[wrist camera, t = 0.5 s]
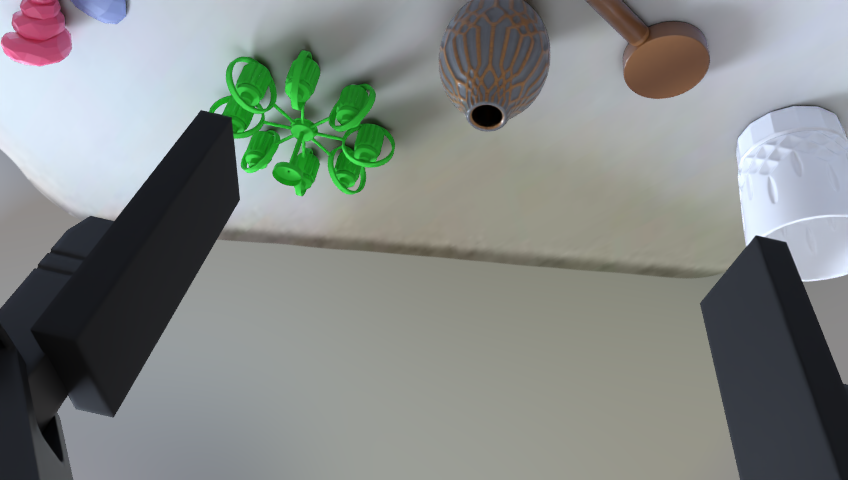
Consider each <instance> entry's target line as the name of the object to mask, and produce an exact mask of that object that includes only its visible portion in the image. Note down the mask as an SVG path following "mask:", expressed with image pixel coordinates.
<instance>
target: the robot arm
mask: <svg viewBox="0 0 848 480" xmlns="http://www.w3.org/2000/svg"><path fill="white" fill-rule="evenodd" d="M239 200H240V196H239V186H238V176H237V166H236V156H235V145H234V135H233V125H232V117H229V116H224V115H220V114H216V113H211V112H207V111H202V110H201V111H200V112H199V114H198V115H197V116H196V117H195V119H194V120H193V121H192V122H191V124H190V125H189V126H188V128H187V129H186V130H185V131H184V133H183V134H182V135H181V137H180V138H179V139H178V140H177V142H176V143H175V144H174V146H173V147H172V148H171V149H170V151H169V152H168V153H167V155H166V156H165V157H164V158H163V160H162V161H161V162H160V163H159V165H158V166H157V167H156V169H155V170H154V171H153V172H152V174H151V175H150V176H149V178H148V179H147V180H146V181H145V183H144V184H143V185H142V187H141V188H140V189H139V190H138V192H137V193H136V194H135V196H134V197H133V198H132V199H131V201H130V202H129V203H128V204H127V206H126V207H125V208H124V210H123V211H122V212H121V213H120V215H119V216H118V217H117V219H116V220H115V221H111V220H106V219H102V218H98V217H93V216H90V217H88V218H86V219H85V220H83V221H81V222H80V223H78V224H77V225H75V226H73V227H72V228H70V229H68V230H67V231H66V232H65V233H64V235H63V236H62V237H61V238H60V239H59V240H58V242H57V243H56V244H55V245H54V246H53V247H52V249H51V252H50V253H47V255H46V256H45V257H44V258H43V259H42V260H41V262H40V263H39V264H38V268H37V269H34V270H33V271H32V272H31V273H30V275H29V276H28V277H27V278H26V279H25V280H24V282H23V283H22V284H21V285H20V286H19V287H18V289H17V290H16V291H15V292H14V293H13V294H12V296H11V297H10V298H9V299H8V300H7V302H6V303H5V304H4V305H3V306H2V307H1V309H0V480H73V477H72V472H71V467H70V463H69V458H68V453H67V449H66V444H65V439H64V435H63V430H62V425H61V420H60V417H59V415H58V413H57V411H58V409H59V408H60V406H61V405H62V403H63V401H64V400H65V398H66V397H67V396H69V398H70V400H71V401H72V403H73V405H74V406H75V408H76V409H78V410H83V411H87V412H92V413H96V414H100V415H105V416H110V417H114V416H115V414H116V412H117V411H118V409H119V407H120V406H121V404H122V402H123V400H124V399H125V397H126V395H127V393H128V392H129V390H130V388H131V387H132V385H133V383H134V381H135V380H136V378H137V376H138V374H139V373H140V371H141V369H142V367H143V366H144V364H145V362H146V361H147V359H148V357H149V356H150V354H151V352H152V350H153V348H154V347H155V345H156V343H157V342H158V340H159V338H160V337H161V335H162V333H163V331H164V330H165V328H166V326H167V324H168V323H169V321H170V319H171V318H172V316H173V314H174V312H175V311H176V309H177V307H178V306H179V304H180V302H181V300H182V298H183V297H184V295H185V293H186V292H187V290H188V288H189V286H190V285H191V283H192V281H193V280H194V278H195V276H196V274H197V273H198V271H199V269H200V268H201V266H202V264H203V262H204V261H205V259H206V257H207V255H208V254H209V252H210V250H211V249H212V247H213V245H214V243H215V242H216V240H217V238H218V237H219V235H220V233H221V231H222V230H223V228H224V226H225V224H226V223H227V221H228V219H229V218H230V216H231V214H232V212H233V211H234V209H235V207H236V205H237V204H238V202H239ZM700 305H701V309H702V314H703V318H704V323H705V327H706V331H707V336H708V340H709V345H710V348H711V353H712V358H713V362H714V366H715V371H716V375H717V380H718V384H719V388H720V393H721V397H722V402H723V406H724V410H725V415H726V419H727V424H728V427H729V432H730V437H731V441H732V445H733V449H734V454H735V459H736V463H737V467H738V472H739V476H740V480H848V385H846V384H843V383H842V380H841V378H840V375H839V372H838V370H837V368H836V365H835V362H834V360H833V358H832V355H831V352H830V350H829V347H828V345H827V343H826V340H825V338H824V335H823V332H822V330H821V327H820V325H819V322H818V320H817V317H816V315H815V312H814V310H813V307H812V305H811V302H810V300H809V297H808V295H807V292H806V290H805V287H804V285H803V282H802V280H801V277H800V275H799V272H798V270H797V267H796V265H795V262H794V260H793V257H792V255H791V252H790V250H789V247H788V245H787V242H784V241H780V240H775V239H771V238H766V237H762V236H757V235H756V236H755V237H754V238H753V239H752V241H751V242H750V243H749V244H748V245H747V247H746V248H745V249H744V250H743V251H742V253H741V254H740V255H739V256H738V258H737V259H736V260H735V261H734V262H733V264H732V265H731V266H730V267H729V269H728V270H727V271H726V272H725V274H724V275H723V276H722V277H721V278H720V280H719V281H718V282H717V283H716V284H715V286H714V287H713V288H712V289H711V291H710V292H709V293H708V294H707V296H706V297H705V298H704V299H703V300H702V302H701V303H700Z"/></svg>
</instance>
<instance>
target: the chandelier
mask: <svg viewBox="0 0 848 480" xmlns="http://www.w3.org/2000/svg"><path fill="white" fill-rule="evenodd" d="M236 62H247V63H248V64H247V65H245V66H244V68H243V70H242V72H241V74H240V76H239V78H238V80H237V84H236V88H235V86H234V83H233V79H232V70H233V67H234V65H235V63H236ZM259 75H260V76H259ZM319 76H320V68H319V66H318V64H317V63H316V62H315V61H313V60H312V55H311V52H309V51H304V50H302V51H301V52H300V54H299V56H298V58H297V59H296V60H295V61H293V62H292V65H291V67H290V70H289V72H288V75H287V77H286V82H285V84H286V86H285V92H286V94H287V95H288V96H289V98H290V99H291V106H292V108H293V109H295V110H301V118H296V119H294V120H293V119H292V118H291V117H289V116H288V115H287V114H286V113H285V112H284V111H283V110H282V109H280V108H279V107H278V106H277V105H276V104H275V102H276V98H277V92H276V87H275V84H274V81H273V79H272V77H271V74H270V72H269V70H268V69H267V68H266V67H265V66H264V65H262V64H260V63H259V62H258V61H256V60H254V59H252V58H249V57H239V58H237V59H235V60H234V61H232V62H231V63H230V64H229V66H228V68H227V71H226V82H227V86H228V88H229V91H230V93H231V96H227V97H224V98H221V99H219V100H218V101H216V102H215V103H214V104H213V105H212V107H211V108H210V111H209V112H211V113H214V111H215V110H216V109H217V108H218V107H219V106H221V105H222V104H225V103H227V102H228V103H227V105H226V107H225V110H224V112H223V114H222V115H224V116H229V117H232V125H233V135H234V138H245V137H249V136H251V135H253V134H254V135H253V136H252V138H251V140H250V143H249V145H248V148H247V150H246V152H245V154H244V156H243V158H242V161H241V167H242V169H243V170H245V171H246V172H247V173H253V172H256V171H258V170H259V169H264V168H266V167H267V164H268V163H269V162H270V161H271V160H272V157H273V155H274V154H275V152H276V150H277V148H278V146H279V144H280V143H282V142H285V141H287V140H289V139H291V138H293V137H295V138H297V139H298V140H297V143H296V145H295V148H294V151H293V154H292V157H291V159H290V162H289V163H288V162H280V163H277V164H276V165H275V167H274V169H273V176H274V178H275V179H276V180H277V181H279V182H280V183H282V184H285V185H289V186H294V188H295V191H296V195H299V196H303V195H304V194H305V192H306V190H307V189H308V188H310V187H311V185H312V183H313V182H314V181H315V178H316V175H317V172H318V169H319V165H320V163H319V160H318V158H317V157H316V156H315V155H313V150H312V149H309V148H305V141H311V140H312V141H313V142H314V143H315V144H316V145H318V146H319V147H320V148H321V149H322V150H323V151H324V152H325V153H327V154H328V155H329V157H328V170H329V173H330V176H331V178H332V180H333V182H334V184H335V185H336V186H337V187H338V189H340V190H341V191H342V192H344V193H346V194H355V193H358V192H360V191H361V190H362V189H363V188H364V186H365V182H366V172H365V168H364V167H378V166H381V165H384V164H385V163H387V162H388V161H389V160H390V159H391V158H392V156H393V154H394V149H395V142H394V139H393V137H392V135H391V134H390V133H389V132H388V131H387V130H386V129H384V128H382V127H380V126H378V125H375V124H360V122H361V121H362V120H363V119H364V117H365V116H366V115H367V114H368V112H369V111H370V109H371V108H372V106H373V104H374V101H375V97H376V93H375V90H374V89H373V88H372V87H371V86H370V85H369V84H360V85H348V86H346V87H345V88H344V89H343V90H342V92H341V95H340V98H339V100H338V102H337V103H336V104H335V106H334V107H333V109H332V111H331V113H330V116H329V117H327V118H325V119H323V120H321V121H319V122H317V123H315V124H314V123H313V122H311V121H310V120H307V119H304V105H305V102H306V101H307V100H308V99H309V98H310V96H311V95H312V94H313V93H314V90H315V88H316V85H317V82H318V79H319ZM268 86H269V88H270V92H271V100H270V104H269V106H268V107H267V108H266V109H263V108H262V106H261V105H260V104H259V102H260V100H262V99H263V98H264V95H265V93H266V90H267V88H268ZM366 90H370V94H369V96H368V93H367V92H366ZM357 96H358V97H357ZM255 106H256V107H257V108H258V109H257V108H255ZM273 106H274V107H275V108H276V109H277V110H278V111H279V112H280V113H281V114H283V115H284V116H285V117H286V118H287V119H288V120H289V121H290V122H291V124H290V125H291V126H286V125H281V124H277V123H272V122H268V121H264V120H265V116H264V113H265V112H266V111H268V110H270V109H271V108H272V107H273ZM254 113H256V114H262V117H261V120H260V122H259V123H258V125H257V126H255V127H254V128H253V129H251V130H248V131H245V132H244V130H246V129H247V127H248V126H249V124H250V122H251V120H252V117H253V115H254ZM336 118H337V120H338V122H339V123H340V124H341V125H340V126H335V119H336ZM328 120H329V124H330V126H331V127H332V128H333V129H334V130H336V131H338V132H343V131H346V130H347V131H346V133H345V134H344V136H343V138H341V137H336V136H332V135H327V134H323V133H318V129H317V127H316V126H318V125H320V124H322V123H324V122H326V121H328ZM263 124H267V125H272V126H276V127H281V128H285V129H290V130H291V133H292V135H290V136H288V137H286V138H284V139H282V140H280V136H279V134H278V133H276V132H275V131H274V130H269V131H266V132H265V131H259V130H260V129H261V128H262V126H263ZM357 130H359V131H358V134H357V138H356V141H355V148H354V150H355V151H354V150H353V149H351V148H350V147H347V146H345V141H346V139H347V137H348V136H349V135H350V134H351V133H353V132H355V131H357ZM273 135H274V136H275V137H274V136H273ZM316 135H318V136H322V137H327V138H331V139H336V140H341V141H342V146H339V147H337V148H335V149H333V150H332V151H331V152H329V151H328V150H326V149H325V148H324V147H323V146H322V145H321V144H320V143H319V142H318V141H316V140H315V139H314V137H315V136H316ZM384 135H385V136H386V137H387V138H388V139H389V141H390V142H391V145H392V151H391V153H390V154H389V155H388V156H387V157H386V158H384V159H382V160H380V161H376V160H377V157H378V156H379V155H380V152H381V148H382V144H383V140H384ZM301 143H302V153H300V154H299V155H298V156H297V154H298V151H299V149H300V146H301ZM339 149H341V150H343V151H342V152H341V153H340V155H339V156H338V158H337V162H336V165H335V168H334V165H333V159H334V155H335V153H336V151H337V150H339ZM375 161H376V162H375ZM247 163H248V164H249V167H250V168H247ZM359 174H360V175H361V181H360V185H359V187H358V189H357V190H356V191H351V190H349V189H347V188H348V187H352V186H354V184H355V182H356V180H357V179H358V178H359Z"/></svg>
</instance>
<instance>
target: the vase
mask: <svg viewBox="0 0 848 480" xmlns="http://www.w3.org/2000/svg"><path fill="white" fill-rule="evenodd" d="M549 65H550V43H549V37H548V34H547V30H546V28H545V25H544V23H543V21H542V20H541V18H540V16H539V15H538V13H537V12H536V11H535V10H534V9H533V8H532V7H531V6H530V5H529V4H528V3H526V2H525V1H523V0H472V1H470V2H469V3H467V4H466V5H465V6H463V7H462V8H461V9H460V10H459V11H458V12H457V13H456V15H455V16H454V17H453V18H452V20H451V21H450V23H449V25H448V26H447V28H446V31H445V33H444V36H443V39H442V43H441V47H440V53H439V71H440V77H441V81H442V84H443V87H444V90H445V92H446V94H447V96H448V97H449V99H450V100H451V102H452V103H453V104H454V105H455V106H456V107H457V108H458V109H459V110H460V111H461V112H462V113H463V114H465V116H466V118H467V120H468V122H469V123H470V124H471V125H472V126H473V127H474V128H476V129H478V130H481V131H495V130H498V129H500V128H501V127H503V126H504V125H505V124H506V123H507V121H508V120H509V119H511V118H513V117H514V116H516V115H518V114H520V113H521V112H523V111H524V110H525V109H526V108H528V107H529V106H530V105H531V104H532V103H533V101H534V100H535V99H536V97H537V96H538V94H539V93H540V91H541V89H542V87H543V85H544V83H545V80H546V78H547V74H548V70H549Z"/></svg>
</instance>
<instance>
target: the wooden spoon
mask: <svg viewBox="0 0 848 480" xmlns="http://www.w3.org/2000/svg"><path fill="white" fill-rule="evenodd" d="M585 1H586V2H587V3H588V4H589V5H590V6H591V7H592V8H593V9H594V10H595V11H596V12H597V13H598V14H599V15H600V16H602V17H603V18H604V19H605V20H606V21H607V22H608V23H609V24H610V25H611V26H612V27H613V28H614V29H615V30H616V31H617V32H618V33H619V34H620V35H621V36H622V37H623V38H624V39H625V40H626V41H627V42H628V43H629V44H628V46H627V47H626V49H625V52H624V55H623V70H624V79H625V82H626V84H627V85H628V87H629V88H630V89H631V90H632V91H634V92H635V93H637V94H638V95H641V96H644V97H647V98H654V99H662V98H669V97H674V96H677V95H680V94H682V93H684V92H686V91H688V90H690V89H692V88H693V87H694V86H696V85H697V84H698V83H699V82H700V81H701V80H702V79H703V77H704V76H705V74H706V72H707V70H708V68H709V63H710V56H709V51H708V45H707V41H706V38H705V36H704V35H703V33H702V32H701V31H700V30H699V29H698V28H696V27H695V26H693V25H690V24H688V23H684V22H675V21H672V22H663V23H659V24H655V25H653V26H650V27H647V26H646V25H645V24H644V23H643V22H642V21H641V20H640V19H639V18H638V17H637V16H636V15H635V14H634V13H633V12H632V10H631V9H630V8H629V7H628V6H627V5H626V4H625V3H624V2H623V1H622V0H585Z"/></svg>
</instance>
